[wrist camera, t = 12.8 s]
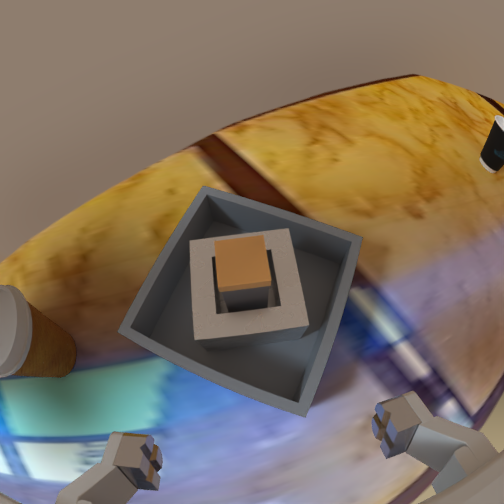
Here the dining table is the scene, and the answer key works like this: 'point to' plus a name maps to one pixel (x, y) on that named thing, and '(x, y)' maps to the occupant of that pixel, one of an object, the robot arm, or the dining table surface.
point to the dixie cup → (494, 147)
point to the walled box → (254, 357)
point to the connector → (243, 273)
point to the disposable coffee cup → (31, 340)
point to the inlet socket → (252, 321)
